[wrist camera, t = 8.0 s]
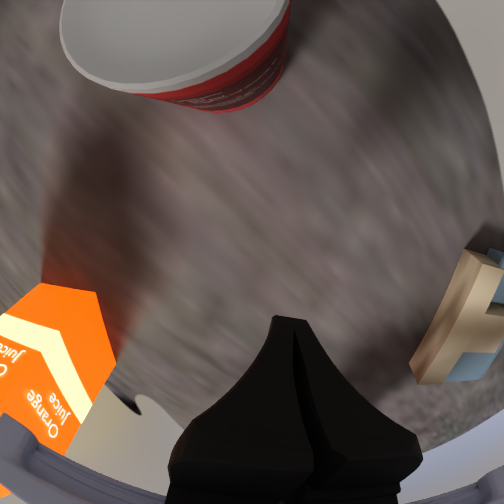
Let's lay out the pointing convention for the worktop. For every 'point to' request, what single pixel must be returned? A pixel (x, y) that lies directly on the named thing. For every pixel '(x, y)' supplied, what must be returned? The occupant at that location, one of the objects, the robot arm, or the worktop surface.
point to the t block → (462, 319)
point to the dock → (478, 363)
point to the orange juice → (52, 362)
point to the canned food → (179, 48)
